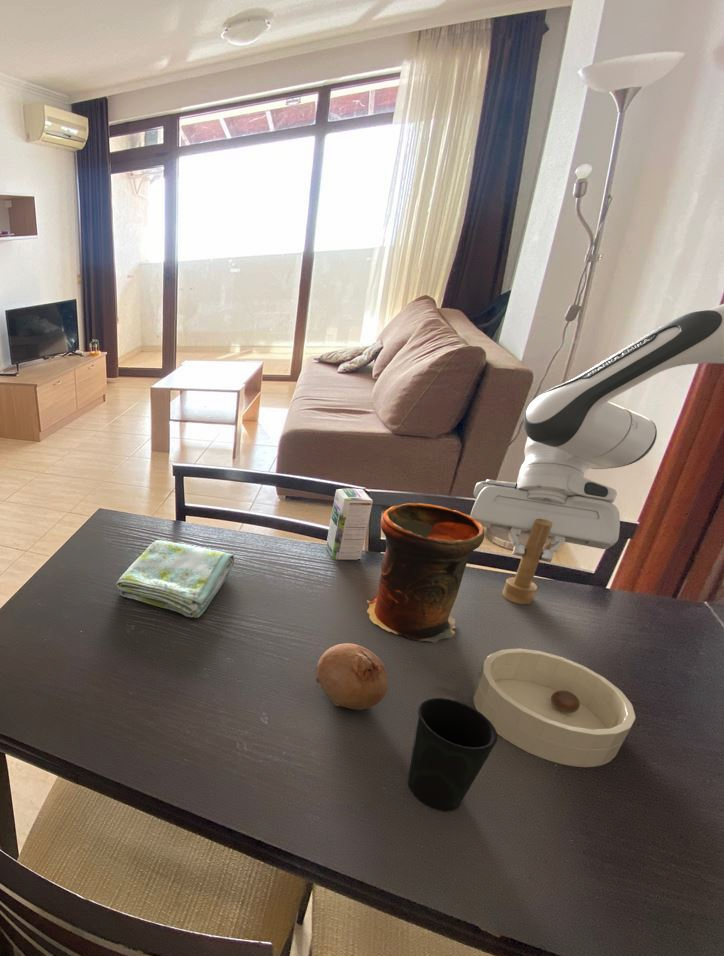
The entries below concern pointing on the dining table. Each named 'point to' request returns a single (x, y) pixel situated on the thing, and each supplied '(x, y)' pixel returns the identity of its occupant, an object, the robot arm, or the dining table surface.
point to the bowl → (552, 707)
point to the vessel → (423, 569)
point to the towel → (176, 577)
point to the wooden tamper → (528, 565)
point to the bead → (565, 701)
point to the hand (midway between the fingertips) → (531, 557)
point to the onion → (352, 676)
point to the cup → (448, 751)
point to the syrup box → (348, 524)
